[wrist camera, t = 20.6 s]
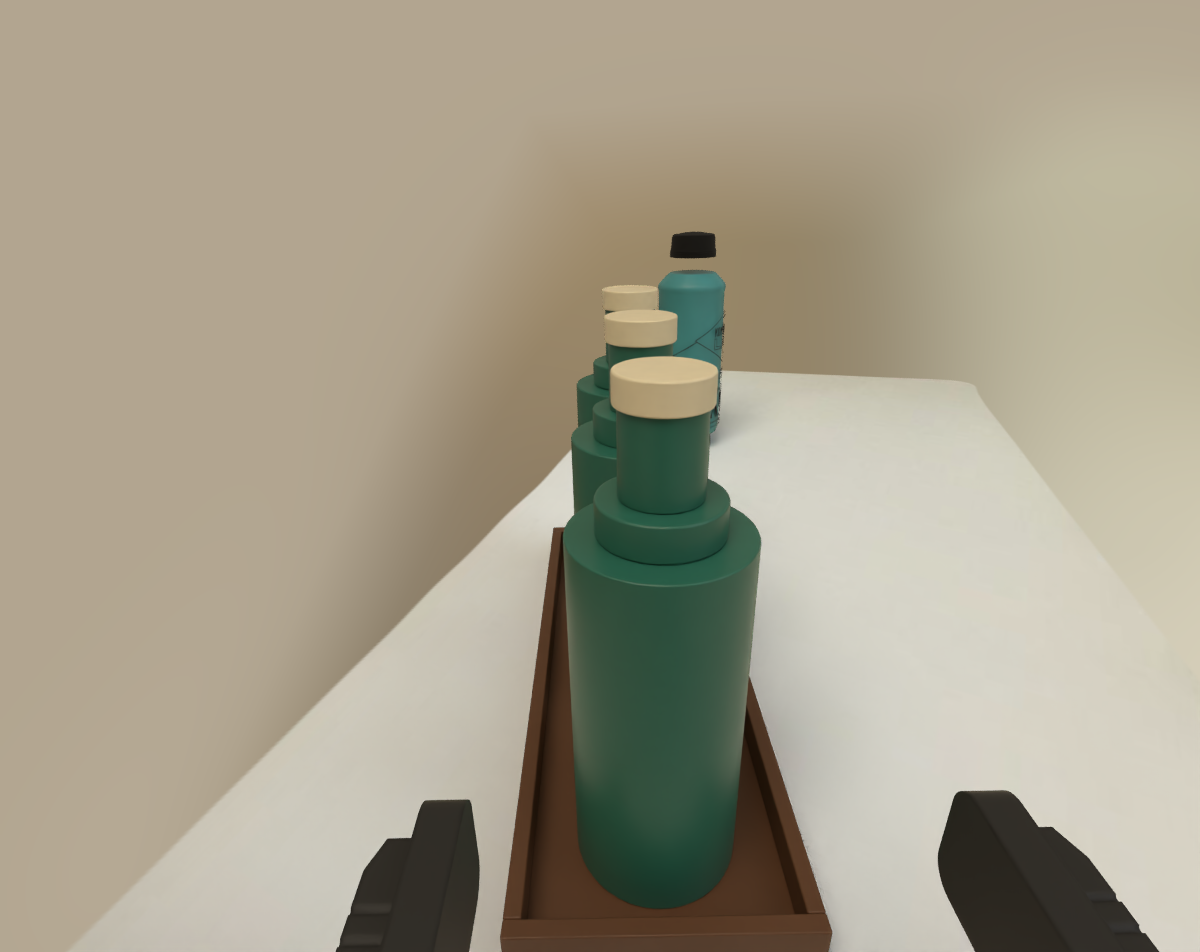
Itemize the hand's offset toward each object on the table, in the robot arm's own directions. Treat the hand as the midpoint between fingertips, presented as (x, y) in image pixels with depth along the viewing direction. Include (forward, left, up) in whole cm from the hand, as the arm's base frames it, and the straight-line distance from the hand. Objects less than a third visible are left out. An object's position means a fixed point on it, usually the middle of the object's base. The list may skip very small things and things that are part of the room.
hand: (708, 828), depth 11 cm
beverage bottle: (-33, +43, -13) cm, 56 cm away
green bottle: (-7, +7, -13) cm, 16 cm away
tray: (-13, +13, -13) cm, 22 cm away
